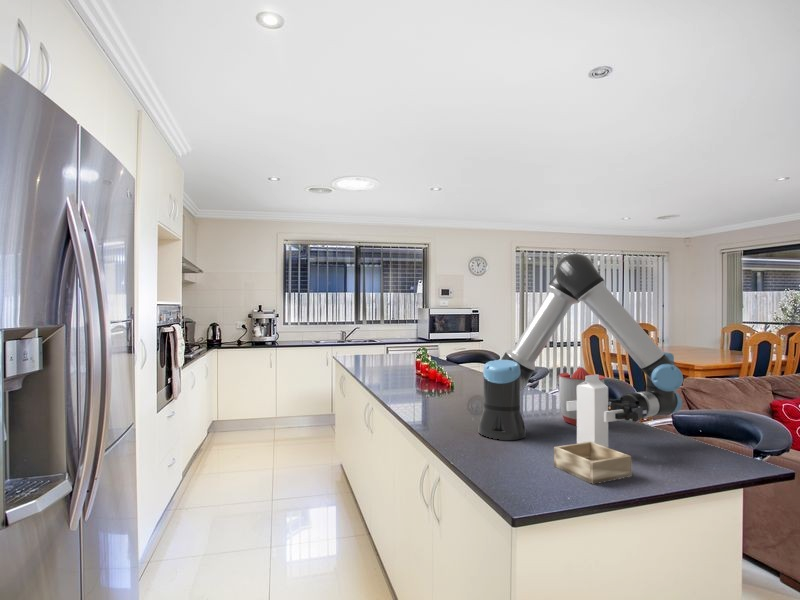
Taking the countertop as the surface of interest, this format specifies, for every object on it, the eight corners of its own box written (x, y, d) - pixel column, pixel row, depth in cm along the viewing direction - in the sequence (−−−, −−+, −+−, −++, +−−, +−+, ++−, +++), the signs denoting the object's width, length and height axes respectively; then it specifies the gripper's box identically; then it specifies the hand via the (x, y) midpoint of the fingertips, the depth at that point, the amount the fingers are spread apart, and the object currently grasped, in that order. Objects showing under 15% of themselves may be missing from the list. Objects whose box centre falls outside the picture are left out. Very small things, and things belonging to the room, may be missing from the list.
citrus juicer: (594, 416, 166) (594, 364, 166) (612, 429, 148) (612, 370, 149) (552, 415, 167) (552, 363, 168) (565, 427, 150) (565, 369, 150)
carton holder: (554, 466, 113) (554, 447, 113) (590, 460, 117) (590, 441, 118) (592, 484, 101) (592, 462, 101) (631, 476, 106) (631, 456, 106)
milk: (608, 454, 123) (609, 375, 123) (594, 457, 120) (595, 377, 120) (589, 447, 128) (590, 372, 129) (576, 450, 125) (576, 374, 126)
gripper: (678, 428, 120) (623, 436, 112) (604, 408, 143) (553, 414, 135) (678, 400, 120) (623, 407, 112) (604, 386, 143) (553, 390, 135)
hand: (585, 411), depth 123 cm, fingers open, 13 cm apart
